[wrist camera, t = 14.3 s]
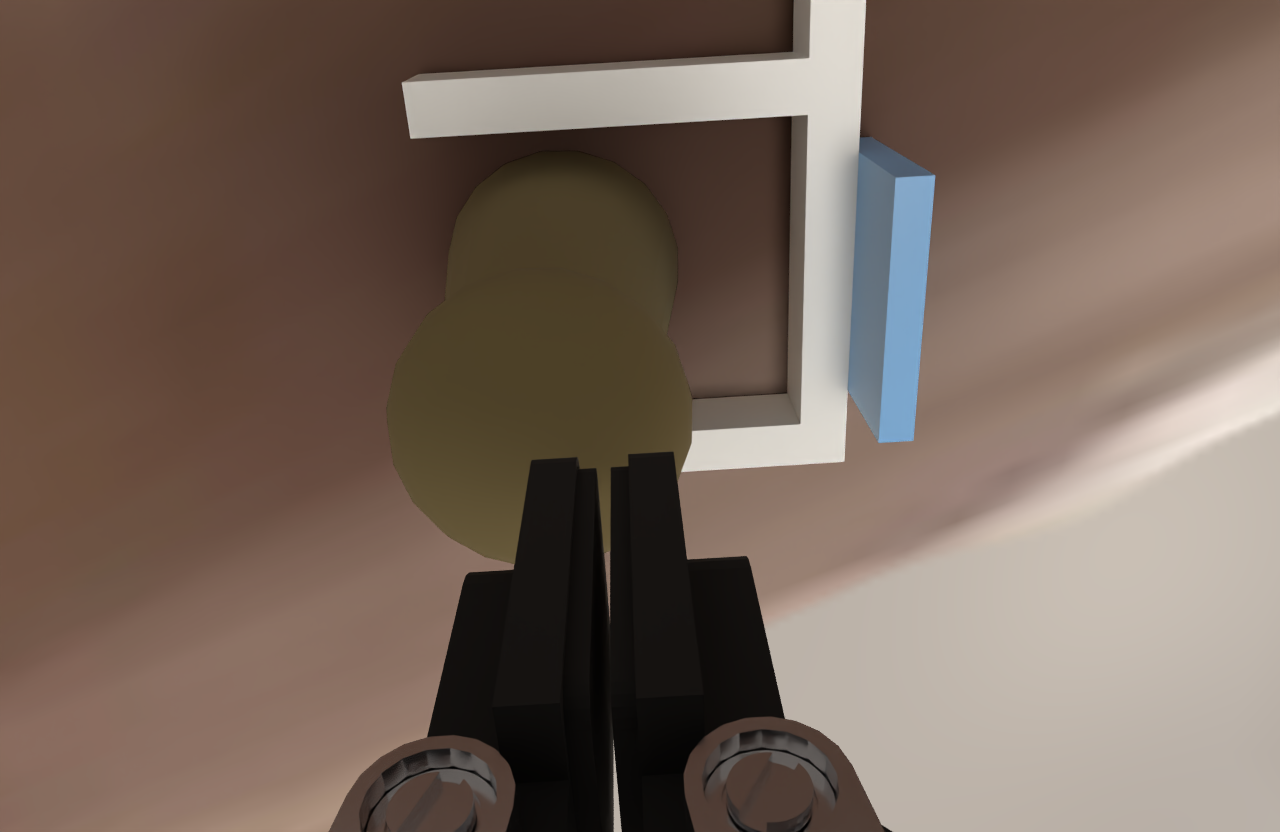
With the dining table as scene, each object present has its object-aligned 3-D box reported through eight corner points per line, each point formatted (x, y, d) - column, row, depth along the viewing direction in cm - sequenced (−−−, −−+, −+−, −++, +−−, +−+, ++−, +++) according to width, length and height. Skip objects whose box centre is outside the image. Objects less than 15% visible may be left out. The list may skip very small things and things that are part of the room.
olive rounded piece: (442, 359, 25) (336, 605, 15) (455, 133, 23) (339, 253, 13) (660, 385, 26) (693, 639, 16) (696, 168, 23) (764, 308, 13)
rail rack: (347, -409, 18) (262, -535, 14) (901, -439, 18) (997, -576, 14) (473, 451, 27) (446, 547, 22) (855, 427, 27) (907, 518, 22)
